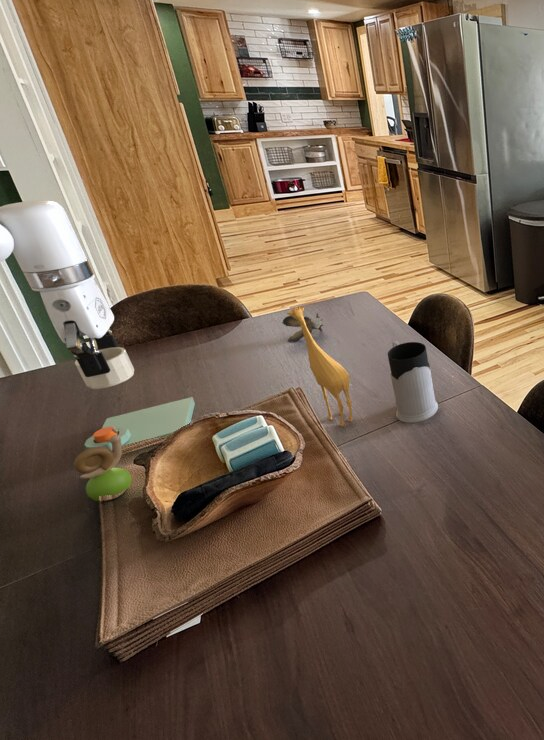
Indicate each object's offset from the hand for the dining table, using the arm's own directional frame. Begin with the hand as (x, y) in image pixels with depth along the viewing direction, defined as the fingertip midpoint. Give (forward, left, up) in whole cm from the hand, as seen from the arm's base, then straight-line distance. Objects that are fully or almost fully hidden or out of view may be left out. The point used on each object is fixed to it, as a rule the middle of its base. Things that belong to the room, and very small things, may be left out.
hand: (104, 364), depth 87 cm
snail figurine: (0, -16, -18) cm, 24 cm away
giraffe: (+33, -12, -18) cm, 40 cm away
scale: (+1, +3, -18) cm, 18 cm away
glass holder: (+49, -17, -18) cm, 55 cm away
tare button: (-4, -1, -15) cm, 15 cm away
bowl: (0, 0, -3) cm, 3 cm away
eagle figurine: (+31, +33, -18) cm, 49 cm away
